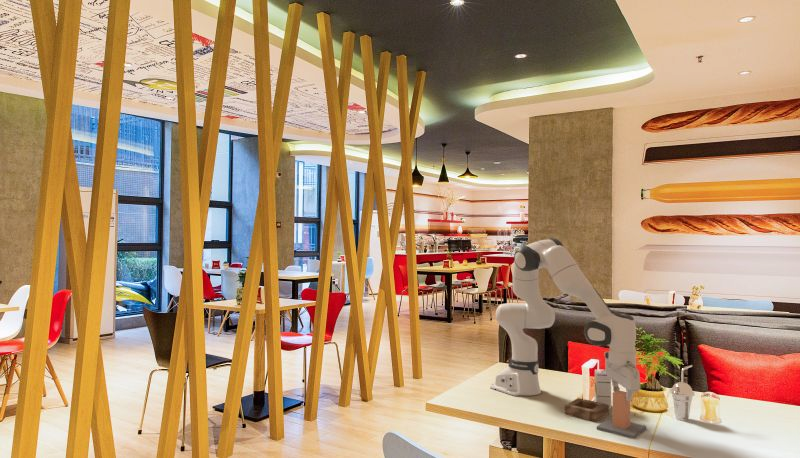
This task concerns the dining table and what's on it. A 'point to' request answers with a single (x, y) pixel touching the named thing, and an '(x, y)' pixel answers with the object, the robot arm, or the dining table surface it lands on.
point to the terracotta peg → (620, 410)
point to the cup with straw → (682, 398)
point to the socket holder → (587, 409)
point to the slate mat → (628, 432)
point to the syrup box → (602, 387)
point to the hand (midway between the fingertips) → (622, 396)
